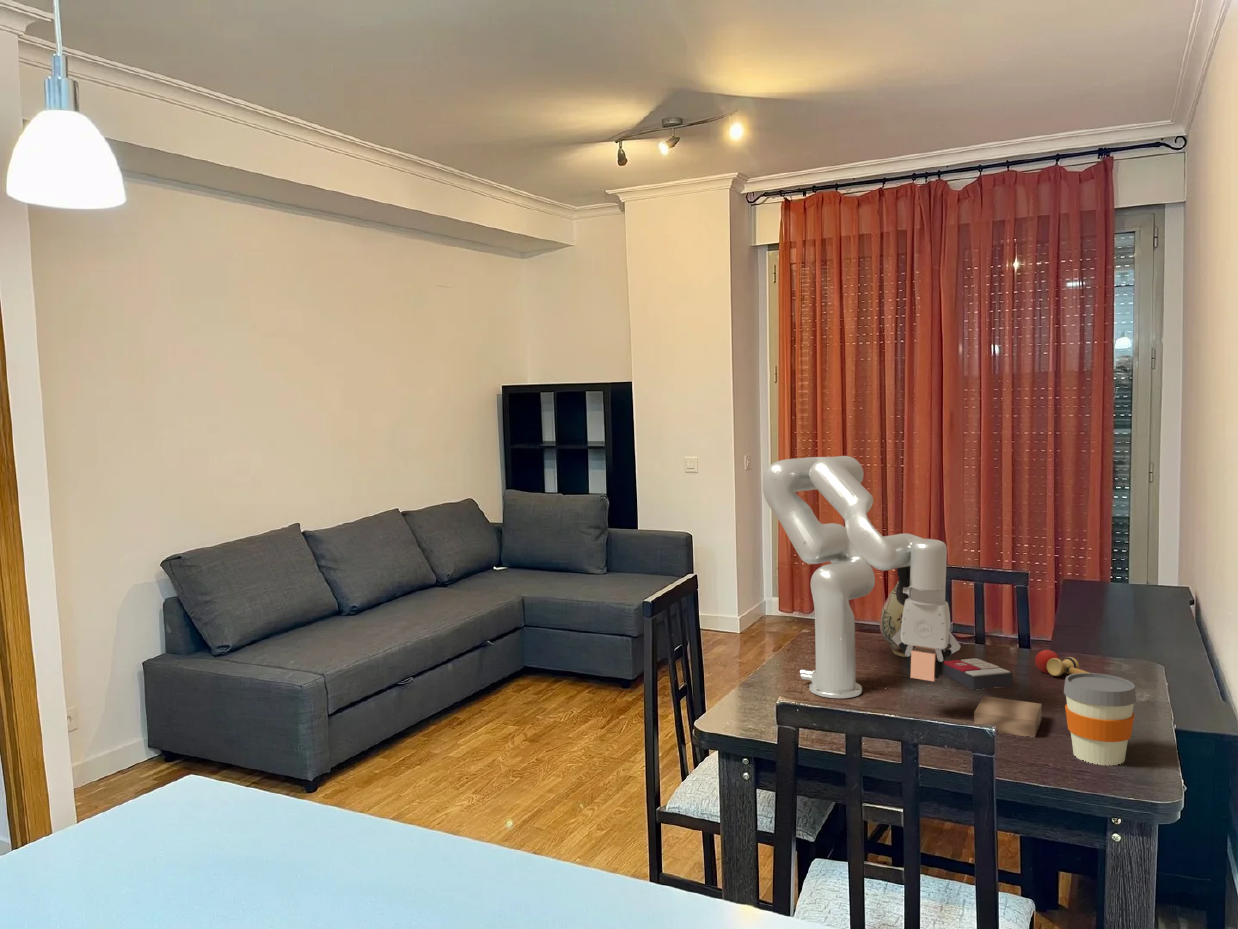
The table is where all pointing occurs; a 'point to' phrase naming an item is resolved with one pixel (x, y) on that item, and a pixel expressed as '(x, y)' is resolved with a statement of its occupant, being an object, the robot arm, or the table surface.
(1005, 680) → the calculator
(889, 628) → the ceramic jug
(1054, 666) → the kendama
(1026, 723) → the base
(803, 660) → the table surface
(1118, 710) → the reusable coffee cup
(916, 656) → the block
